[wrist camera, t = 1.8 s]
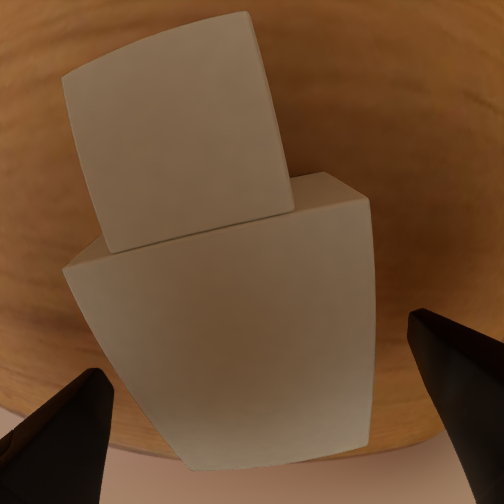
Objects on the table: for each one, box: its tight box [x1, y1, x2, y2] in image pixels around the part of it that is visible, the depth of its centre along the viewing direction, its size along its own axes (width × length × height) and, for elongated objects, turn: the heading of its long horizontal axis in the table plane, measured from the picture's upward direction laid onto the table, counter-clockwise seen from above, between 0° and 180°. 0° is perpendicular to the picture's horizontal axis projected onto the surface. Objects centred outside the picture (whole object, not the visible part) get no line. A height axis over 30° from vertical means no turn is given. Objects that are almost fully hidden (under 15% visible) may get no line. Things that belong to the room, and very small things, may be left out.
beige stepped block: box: [62, 11, 376, 471], centre depth 7 cm, size 12×6×3 cm, turn 13°
